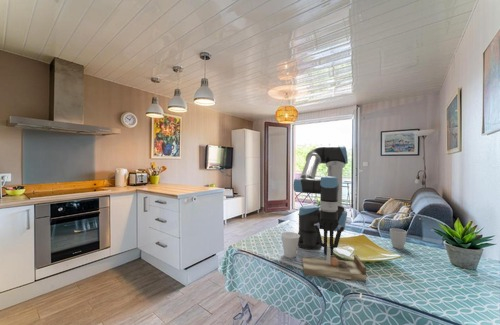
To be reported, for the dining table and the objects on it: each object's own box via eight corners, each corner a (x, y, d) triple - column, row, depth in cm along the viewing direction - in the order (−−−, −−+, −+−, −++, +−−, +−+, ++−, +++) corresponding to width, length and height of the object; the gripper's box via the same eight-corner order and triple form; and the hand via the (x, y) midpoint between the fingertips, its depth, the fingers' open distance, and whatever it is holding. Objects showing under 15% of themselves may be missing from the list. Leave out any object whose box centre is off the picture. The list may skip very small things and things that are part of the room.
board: (302, 261, 102) (302, 250, 103) (356, 267, 98) (356, 255, 98) (304, 274, 91) (304, 261, 91) (365, 281, 86) (366, 267, 86)
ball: (337, 264, 95) (329, 263, 96) (337, 256, 95) (328, 255, 96) (339, 267, 92) (330, 267, 92) (338, 259, 92) (330, 258, 93)
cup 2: (409, 248, 120) (409, 231, 121) (400, 250, 117) (400, 233, 118) (395, 243, 128) (395, 227, 128) (386, 245, 125) (386, 228, 125)
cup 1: (300, 253, 112) (300, 232, 113) (299, 261, 103) (299, 239, 103) (281, 250, 115) (281, 231, 115) (279, 258, 106) (279, 237, 106)
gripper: (314, 211, 92) (314, 264, 92) (346, 212, 90) (345, 267, 89) (313, 207, 100) (312, 256, 99) (342, 209, 97) (341, 259, 97)
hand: (328, 261), depth 94 cm, fingers closed
